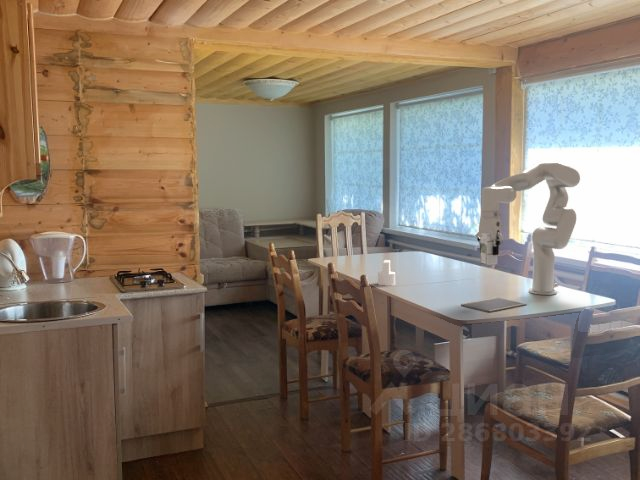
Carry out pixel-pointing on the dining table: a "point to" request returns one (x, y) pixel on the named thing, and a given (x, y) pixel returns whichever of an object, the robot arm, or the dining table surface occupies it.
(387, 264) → the base with upright slab
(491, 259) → the syrup box
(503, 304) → the mat
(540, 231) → the robot arm
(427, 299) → the dining table surface
